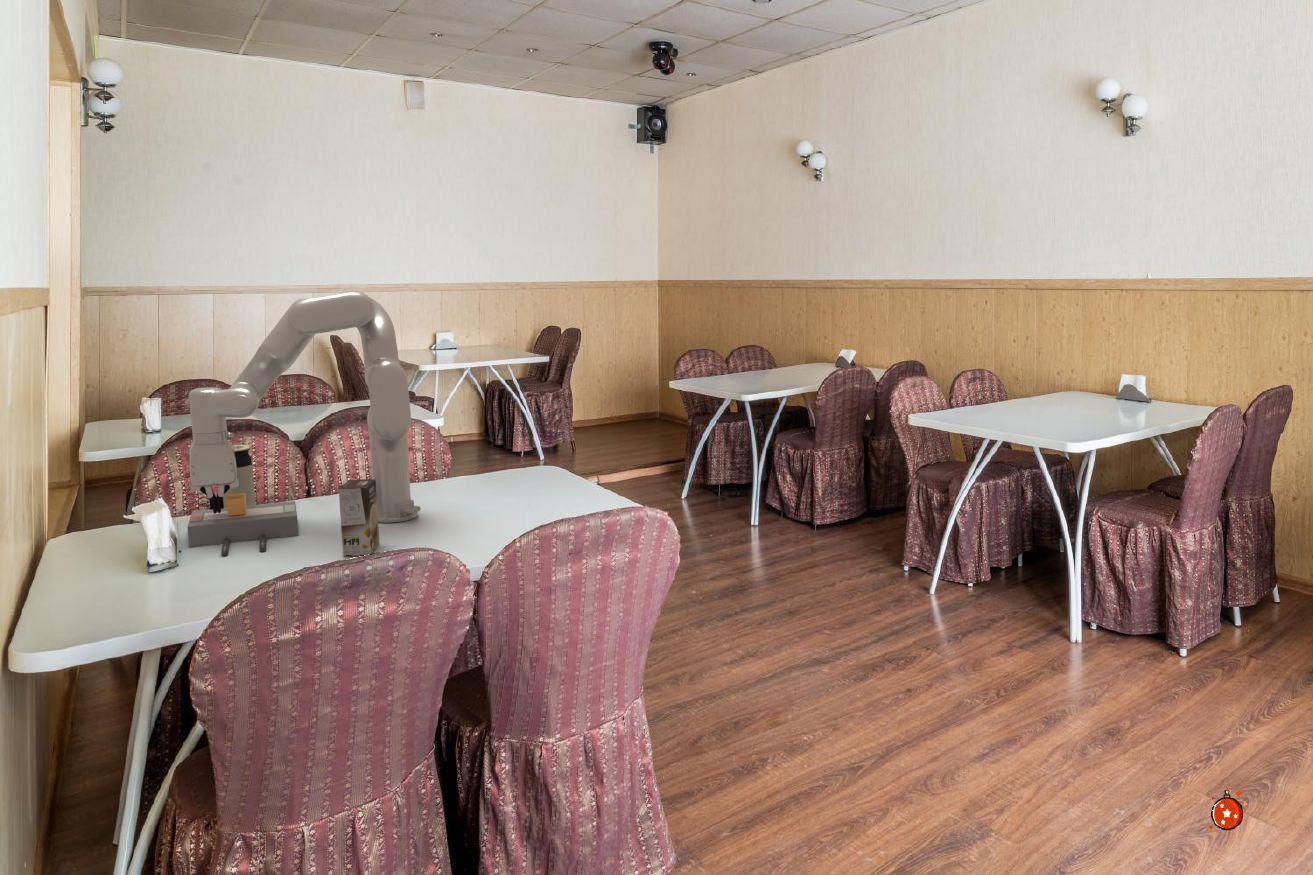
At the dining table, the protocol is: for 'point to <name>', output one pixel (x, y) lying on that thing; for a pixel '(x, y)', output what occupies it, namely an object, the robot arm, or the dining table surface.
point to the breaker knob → (236, 504)
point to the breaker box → (243, 525)
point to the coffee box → (359, 517)
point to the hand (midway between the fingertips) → (217, 511)
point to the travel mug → (243, 475)
